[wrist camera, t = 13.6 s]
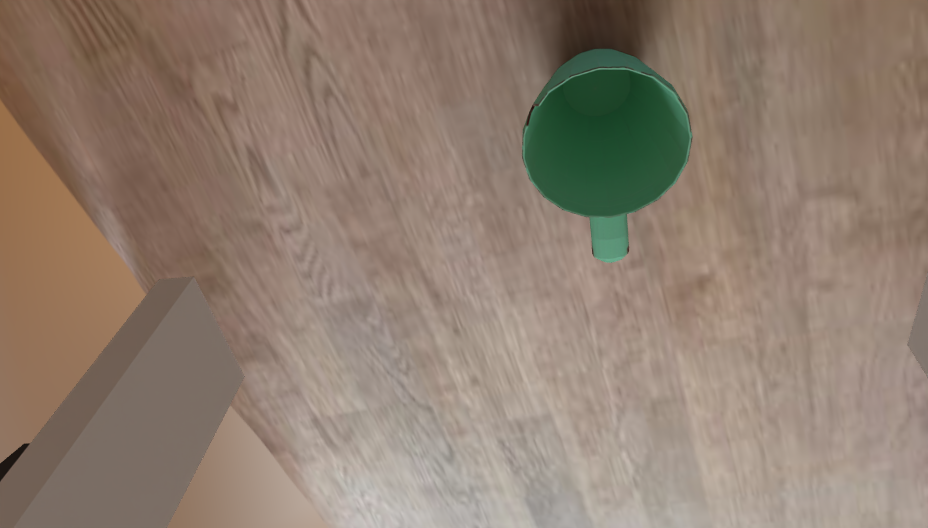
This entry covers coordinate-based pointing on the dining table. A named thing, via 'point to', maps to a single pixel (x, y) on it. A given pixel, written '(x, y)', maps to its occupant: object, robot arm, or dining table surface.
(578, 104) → the mug
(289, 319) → the dining table surface
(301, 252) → the dining table surface
